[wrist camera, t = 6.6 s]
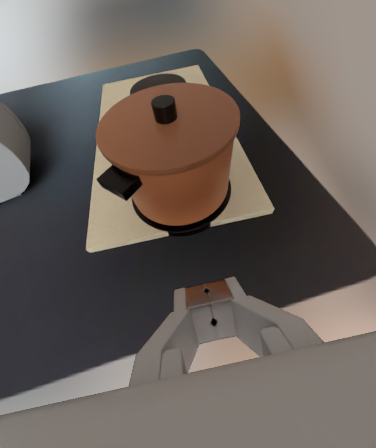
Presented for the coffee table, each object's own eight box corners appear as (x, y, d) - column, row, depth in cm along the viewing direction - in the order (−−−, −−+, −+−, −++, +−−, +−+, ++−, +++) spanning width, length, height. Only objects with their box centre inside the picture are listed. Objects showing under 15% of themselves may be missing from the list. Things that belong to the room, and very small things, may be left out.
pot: (176, 139, 29) (161, 52, 20) (252, 166, 25) (277, 70, 16) (104, 210, 23) (38, 134, 14) (186, 262, 19) (165, 198, 10)
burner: (181, 74, 43) (181, 69, 42) (192, 100, 37) (191, 94, 36) (130, 85, 43) (129, 79, 42) (132, 113, 36) (130, 107, 36)
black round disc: (215, 152, 28) (216, 146, 27) (244, 223, 22) (246, 218, 21) (132, 169, 28) (130, 164, 27) (136, 246, 22) (133, 243, 21)
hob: (198, 70, 43) (198, 64, 42) (272, 213, 22) (274, 208, 21) (105, 89, 43) (102, 84, 42) (90, 252, 22) (85, 249, 21)
